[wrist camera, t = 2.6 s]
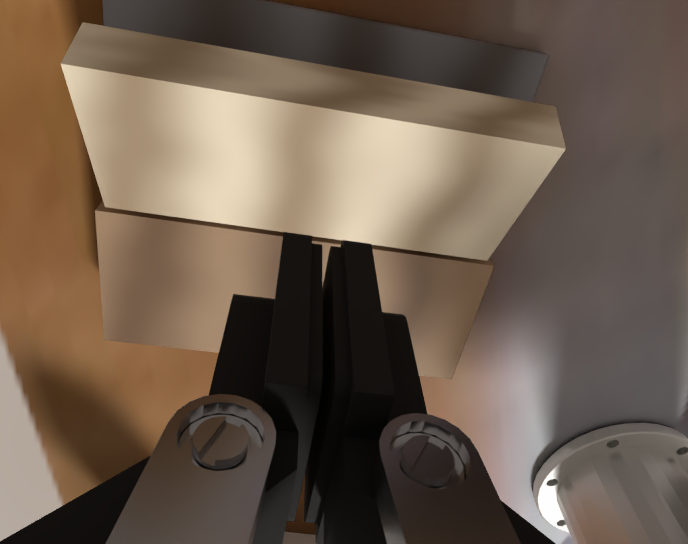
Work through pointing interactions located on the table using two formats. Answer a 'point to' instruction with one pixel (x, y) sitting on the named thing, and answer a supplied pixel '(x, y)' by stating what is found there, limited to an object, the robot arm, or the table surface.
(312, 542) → the white toaster
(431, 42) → the floor panel
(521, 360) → the table surface
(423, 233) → the birch plank
